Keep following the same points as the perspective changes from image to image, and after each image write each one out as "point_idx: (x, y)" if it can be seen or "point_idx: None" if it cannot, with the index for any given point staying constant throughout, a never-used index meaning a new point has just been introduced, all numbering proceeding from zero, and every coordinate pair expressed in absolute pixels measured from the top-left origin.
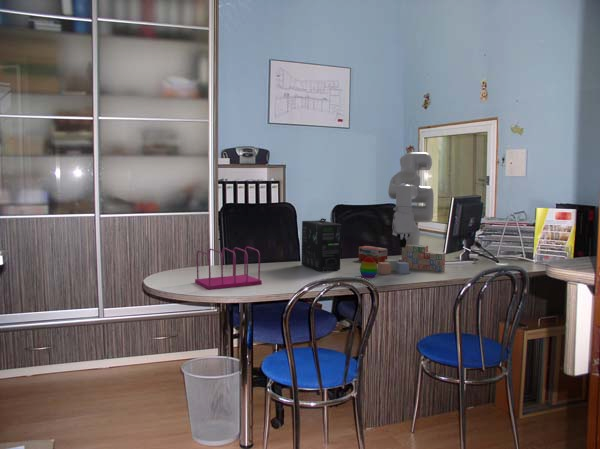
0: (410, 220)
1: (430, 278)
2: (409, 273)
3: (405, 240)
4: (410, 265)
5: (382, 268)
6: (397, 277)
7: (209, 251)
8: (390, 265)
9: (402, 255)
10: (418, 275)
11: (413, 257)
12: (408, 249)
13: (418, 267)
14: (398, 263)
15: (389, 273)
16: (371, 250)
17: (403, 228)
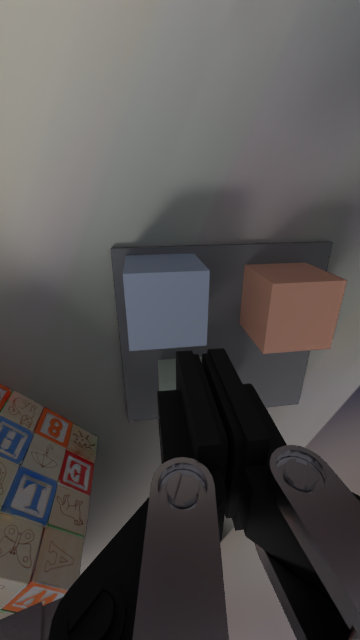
0: None
1: (6, 28)
2: (122, 252)
3: (197, 428)
4: (49, 428)
5: (321, 271)
6: (252, 153)
7: None
8: (273, 279)
9: (84, 504)
10: (71, 197)
11: (13, 465)
12: (31, 542)
13: (5, 398)
14: (208, 294)
15: (256, 265)
16: None
17: None
